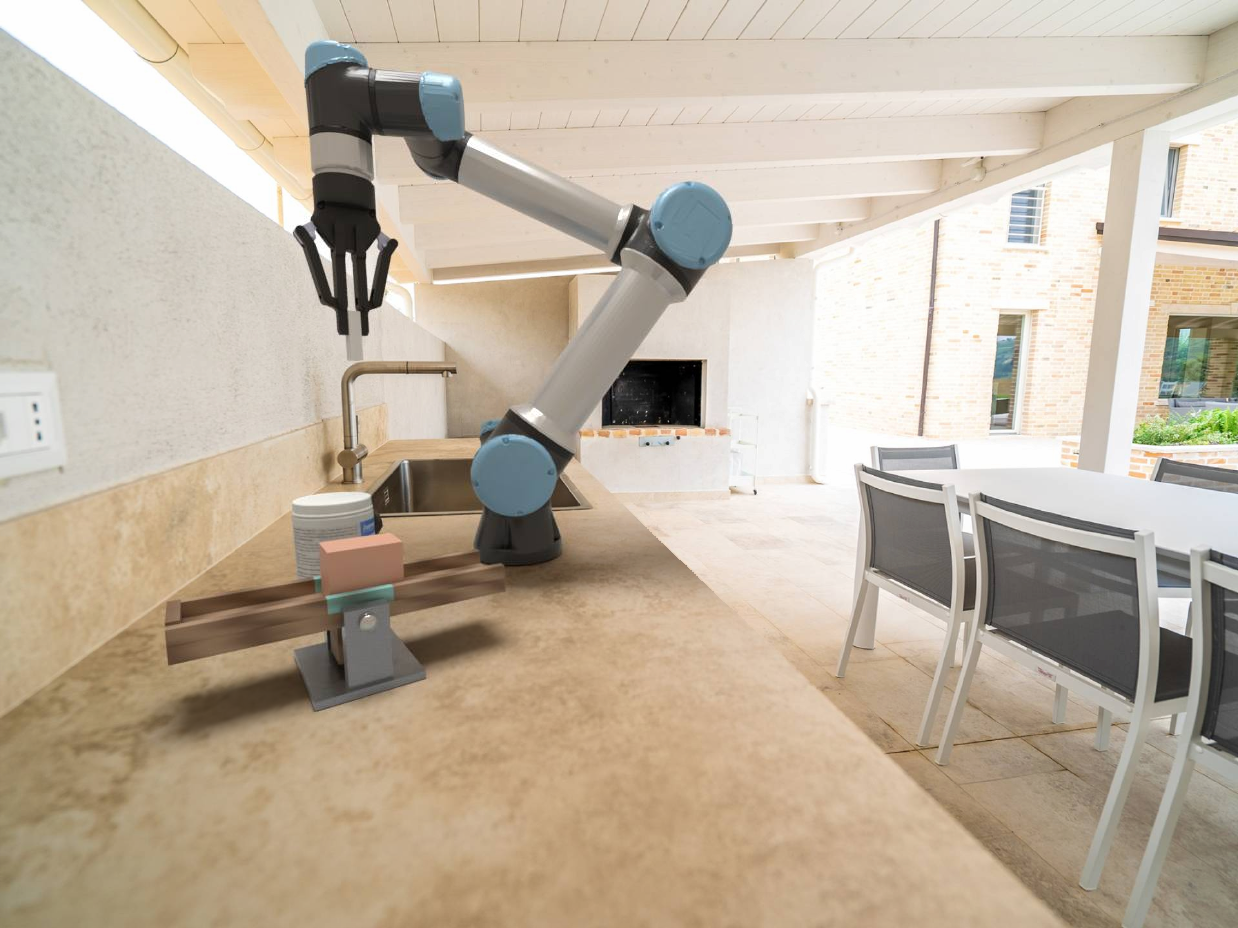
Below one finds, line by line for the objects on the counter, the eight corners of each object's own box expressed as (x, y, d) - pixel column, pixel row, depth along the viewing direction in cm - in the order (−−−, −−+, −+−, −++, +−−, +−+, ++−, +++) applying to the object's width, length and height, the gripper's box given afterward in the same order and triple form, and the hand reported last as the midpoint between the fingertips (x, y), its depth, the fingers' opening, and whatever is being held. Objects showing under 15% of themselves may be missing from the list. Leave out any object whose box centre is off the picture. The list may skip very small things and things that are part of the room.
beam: (477, 608, 72) (476, 546, 71) (506, 630, 66) (504, 562, 65) (175, 678, 54) (167, 597, 53) (173, 717, 48) (164, 627, 47)
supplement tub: (386, 610, 75) (379, 499, 73) (303, 627, 70) (294, 508, 68) (371, 588, 83) (365, 488, 81) (296, 602, 78) (287, 495, 76)
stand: (389, 632, 68) (385, 564, 67) (426, 678, 58) (422, 598, 57) (294, 656, 63) (287, 581, 61) (315, 711, 52) (308, 623, 51)
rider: (392, 581, 64) (390, 532, 63) (404, 593, 60) (402, 541, 59) (321, 594, 59) (318, 542, 59) (330, 608, 56) (327, 552, 55)
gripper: (387, 195, 83) (396, 362, 87) (283, 177, 76) (297, 360, 79) (402, 181, 77) (411, 360, 81) (291, 159, 70) (306, 358, 73)
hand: (355, 360), depth 80 cm, fingers closed
